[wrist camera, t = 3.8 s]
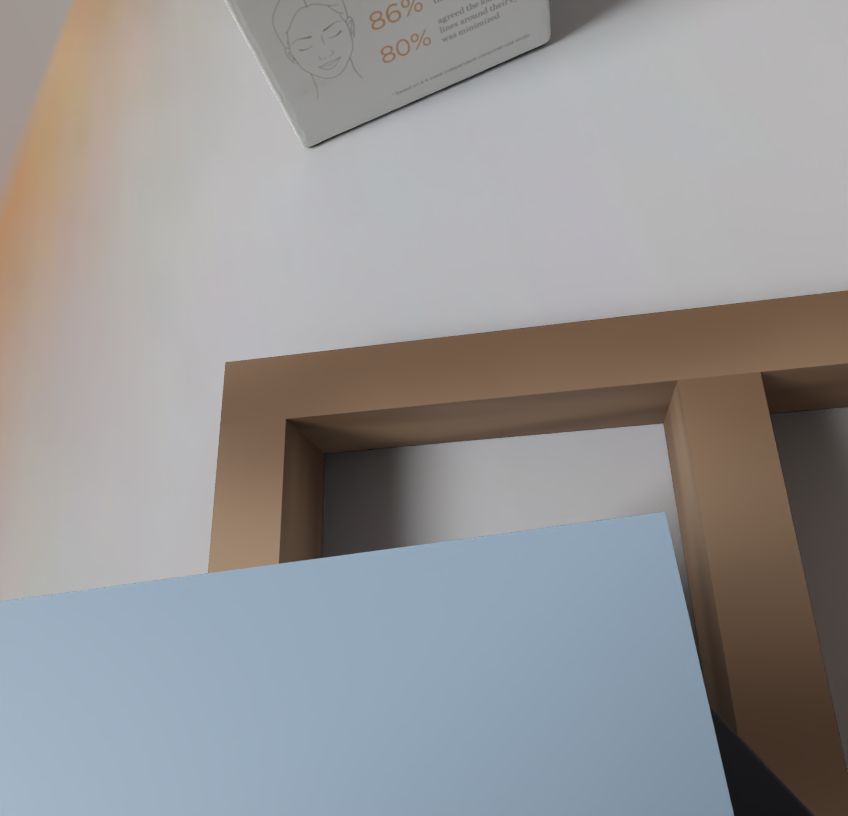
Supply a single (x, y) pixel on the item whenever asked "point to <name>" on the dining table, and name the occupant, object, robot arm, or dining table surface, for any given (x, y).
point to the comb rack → (585, 410)
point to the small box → (378, 52)
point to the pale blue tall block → (371, 686)
